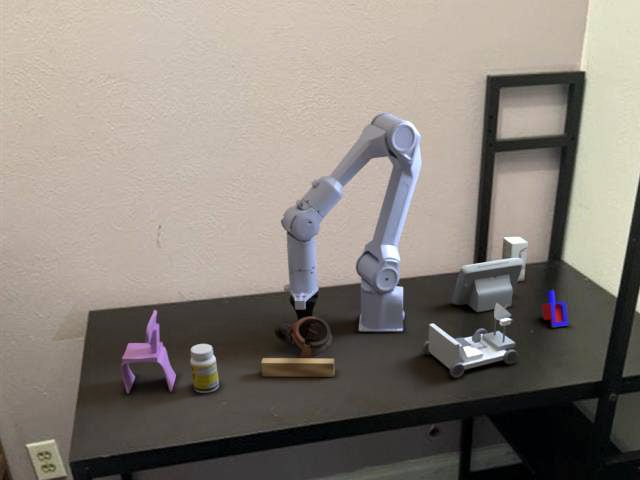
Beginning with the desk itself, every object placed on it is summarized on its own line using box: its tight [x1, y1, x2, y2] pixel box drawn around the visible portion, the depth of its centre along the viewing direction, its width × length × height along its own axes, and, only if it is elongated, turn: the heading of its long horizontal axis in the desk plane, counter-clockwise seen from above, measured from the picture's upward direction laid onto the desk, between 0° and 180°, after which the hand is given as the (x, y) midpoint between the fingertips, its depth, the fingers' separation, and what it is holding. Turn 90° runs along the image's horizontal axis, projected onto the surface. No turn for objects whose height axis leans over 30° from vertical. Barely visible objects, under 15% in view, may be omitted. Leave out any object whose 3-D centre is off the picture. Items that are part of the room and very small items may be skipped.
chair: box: [120, 309, 177, 394], centre depth 146 cm, size 8×9×15 cm
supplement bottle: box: [189, 343, 220, 394], centre depth 146 cm, size 5×5×8 cm
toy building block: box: [541, 289, 569, 328], centre depth 171 cm, size 4×4×8 cm
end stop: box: [260, 357, 336, 378], centre depth 152 cm, size 14×2×3 cm, turn 88°
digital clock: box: [451, 258, 523, 313], centre depth 178 cm, size 16×9×11 cm, turn 99°
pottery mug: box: [273, 316, 333, 358], centre depth 160 cm, size 12×10×8 cm
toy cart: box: [421, 303, 519, 379], centre depth 156 cm, size 18×10×12 cm
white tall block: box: [501, 235, 529, 283], centre depth 192 cm, size 5×4×10 cm
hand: (305, 326), depth 164 cm, fingers closed
